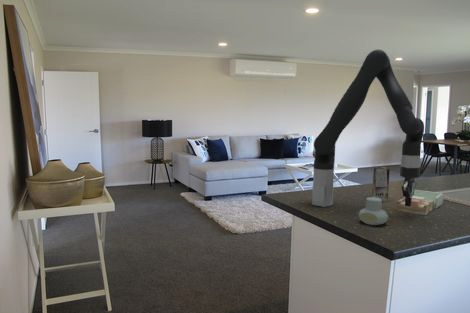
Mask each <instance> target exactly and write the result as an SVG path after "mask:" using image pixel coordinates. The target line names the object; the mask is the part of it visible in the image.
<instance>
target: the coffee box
mask: <svg viewBox="0 0 470 313" xmlns="http://www.w3.org/2000/svg"><path fill="white" fill-rule="evenodd" d="M390 171H391V169H390V168H388V167H387V166H373V167H372V186H371V187H372V188H371V191H372V193H371V197H376V198H380V199H381V200H382V202H385V203H386V202H387V203H388V200H389V188H390V187H389V183H390Z"/></svg>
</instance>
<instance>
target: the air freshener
mask: <svg viewBox="0 0 470 313" xmlns="http://www.w3.org/2000/svg"><path fill="white" fill-rule="evenodd" d="M382 206H383V201H382V200H381V199H380V198H376V197H372V196H369V197H366V198H365V207H364V208H362V209H361V210H360V211H359V212H358V218H359V220H360V221H361V222H363V223H364V224H366V225H368V226H381V225H383V224H385V223H386V222H387V221H388V220H389V215H388V213H387V212H386V211H385V210H384V209H382Z"/></svg>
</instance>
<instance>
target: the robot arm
mask: <svg viewBox="0 0 470 313" xmlns="http://www.w3.org/2000/svg"><path fill="white" fill-rule="evenodd" d="M390 60H391V59H390V58H389V56H388V54H387V53H386V52H385V51H384V50H382V49H379V48H378V49H374V50H372V51H371V52H369V53H368V54H367V55H366V57H365V59H364V61H363V63H362V65H361V66H360V69H359V71H358V73H357V75H356V76H355V78H354V79H353V81H352V82H351V84H350V85H349V86H348V88H347V90H346V91H345V93H344V94H343V96H341V98H340V100H339V102H338V104H337V105H336V107H335V108H334V111H333V112H332V115H331V116H330V118H329V121H328V122H327V124H326V125H325V127H324V128H323V129H322V131H321V132H320V133H319V134H318V135H317V136H316V138H315V139H314V142H313V149H314V161H313V174H312V177H313V179H312V180H313V183H312V194H311V195H312V197H311V205H312V206H317V207H321V208H325V207H331V206H333V203H334V202H333V201H334V179H335V176H334V174H335V162H336V161H335V158H336V143H337V141H338V139H339V137H340V136H341V134H342V133H343V131H344V130H345V129H346V127H347V126H348V125H349V124H350V123H351V122H352V120H353V119H354V117H355V116H356V115H357V113H358V112H359V111H360V110H361V107H362V106H363V104H364V103H365V101H366V98H367V95H368V92H369V90H370V87H371V85H372V84H373V82H374V81H375V79H377V80H378V81H379V83H380V84H381V86H382V88H383V90H384V93H385V95H386V98H387V100H388V102H389V105H390V106H391V108H392V110H393V112H394V114H395V115H396V118H397V122H398V125H399V127H400V130H401V131H402V132H403V133H404V134H405V135H406V136H405V139H404V141H403V142H402V150H401V158H400V171H399V175H400V177H401V178H404V180H403V182H402V186H401V191H402V195H403V196H402V197H403V198H404V197H405V206H411V201H412V197H413V195H414V191H415V190H416V186H417V182H416V179H418V178H420V177H421V176H420V175H421V164H422V162H421V160H422V159H421V151H422V141H423V138H424V135H425V134H424V133H425V123H424V121H423V120H422V119H421V118H419V117H416V116H415V115H414V112H413V105H412V103H411V101H410V99H409V98H408V96H407V94H406V92H405V91H404V88H402V86H401V85H400V83H399V81H398V79H397V78H396V75H395V73H394V71H393V67H392V65H391V61H390Z"/></svg>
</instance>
